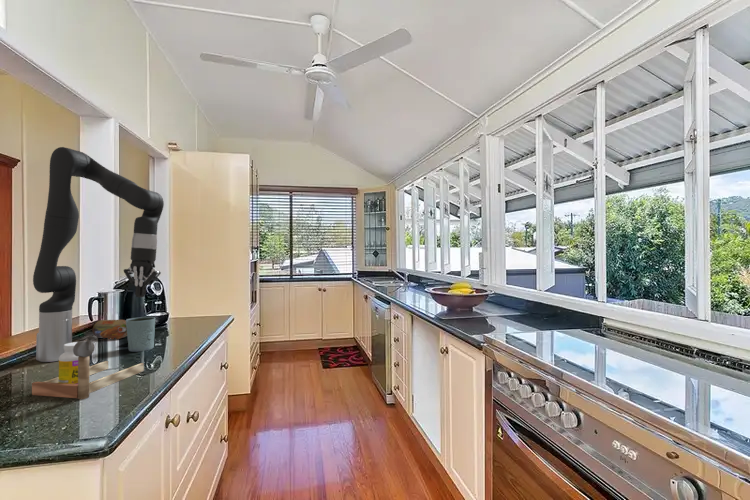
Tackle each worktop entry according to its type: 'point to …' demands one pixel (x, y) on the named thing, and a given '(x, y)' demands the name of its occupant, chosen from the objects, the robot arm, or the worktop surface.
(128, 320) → the grey green cup
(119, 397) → the worktop surface
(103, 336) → the tin
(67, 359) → the supplement bottle
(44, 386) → the wooden frame stand
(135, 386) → the worktop surface
